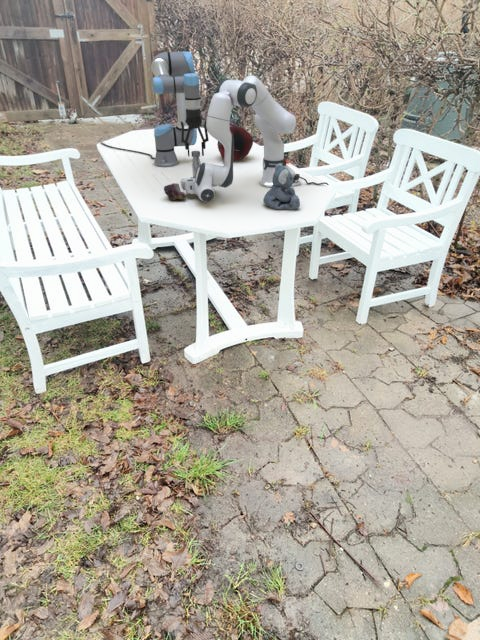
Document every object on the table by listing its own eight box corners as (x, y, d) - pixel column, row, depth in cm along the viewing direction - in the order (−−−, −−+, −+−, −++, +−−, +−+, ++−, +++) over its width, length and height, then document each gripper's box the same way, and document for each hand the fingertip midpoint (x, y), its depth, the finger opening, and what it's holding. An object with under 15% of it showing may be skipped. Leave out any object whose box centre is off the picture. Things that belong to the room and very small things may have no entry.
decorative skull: (214, 132, 306) (214, 129, 283) (248, 124, 306) (250, 120, 282) (221, 164, 313) (221, 164, 290) (254, 156, 312) (257, 156, 289)
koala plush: (301, 210, 223) (303, 170, 212) (265, 211, 222) (266, 171, 211) (294, 198, 237) (297, 160, 226) (261, 199, 236) (261, 161, 225)
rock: (179, 196, 245) (162, 199, 241) (177, 180, 241) (160, 182, 237) (187, 199, 235) (169, 202, 231) (185, 182, 232) (167, 185, 228)
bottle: (203, 190, 249) (201, 153, 238) (196, 192, 247) (194, 154, 236) (199, 188, 253) (197, 151, 241) (192, 190, 250) (189, 152, 239)
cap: (197, 154, 242) (196, 150, 241) (201, 156, 239) (201, 152, 238) (190, 155, 240) (189, 151, 238) (194, 157, 237) (194, 153, 236)
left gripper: (211, 106, 230) (213, 152, 243) (173, 107, 228) (177, 154, 241) (213, 109, 224) (215, 156, 237) (173, 110, 222) (177, 158, 235)
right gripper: (220, 178, 236) (215, 170, 247) (182, 181, 232) (178, 173, 243) (221, 190, 240) (215, 182, 251) (183, 193, 236) (179, 185, 247)
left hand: (195, 155), depth 239 cm, fingers open, 7 cm apart
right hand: (196, 178), depth 247 cm, fingers closed on bottle, 5 cm apart
